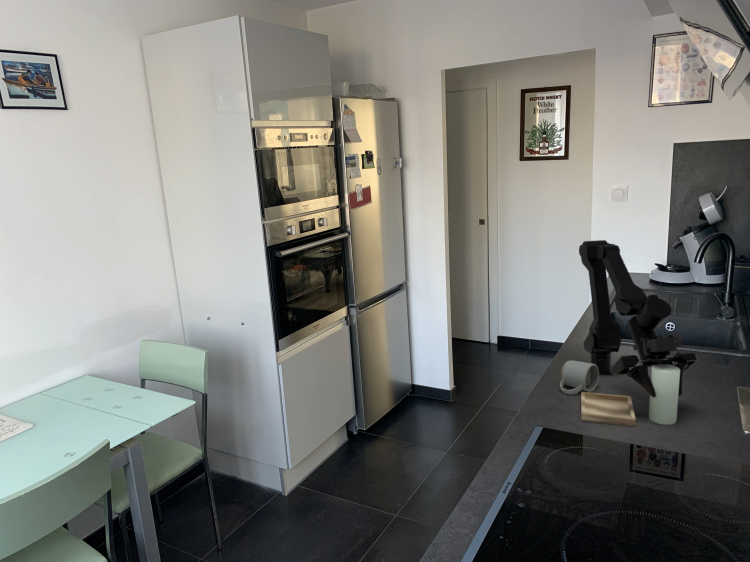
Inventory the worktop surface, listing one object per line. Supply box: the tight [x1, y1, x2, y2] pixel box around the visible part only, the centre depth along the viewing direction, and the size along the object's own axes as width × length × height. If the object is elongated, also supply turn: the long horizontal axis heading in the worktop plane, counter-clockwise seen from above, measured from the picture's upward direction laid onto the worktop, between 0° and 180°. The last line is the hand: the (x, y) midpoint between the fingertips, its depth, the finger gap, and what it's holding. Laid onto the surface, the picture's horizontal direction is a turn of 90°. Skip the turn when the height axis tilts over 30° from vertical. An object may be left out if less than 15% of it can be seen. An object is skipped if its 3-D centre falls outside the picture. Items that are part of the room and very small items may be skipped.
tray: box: [580, 391, 637, 428], centre depth 141 cm, size 14×12×2 cm
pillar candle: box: [648, 364, 680, 426], centre depth 135 cm, size 6×6×13 cm
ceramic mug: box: [559, 360, 600, 396], centre depth 155 cm, size 11×8×8 cm
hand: (667, 395), depth 133 cm, fingers closed on pillar candle, 6 cm apart
